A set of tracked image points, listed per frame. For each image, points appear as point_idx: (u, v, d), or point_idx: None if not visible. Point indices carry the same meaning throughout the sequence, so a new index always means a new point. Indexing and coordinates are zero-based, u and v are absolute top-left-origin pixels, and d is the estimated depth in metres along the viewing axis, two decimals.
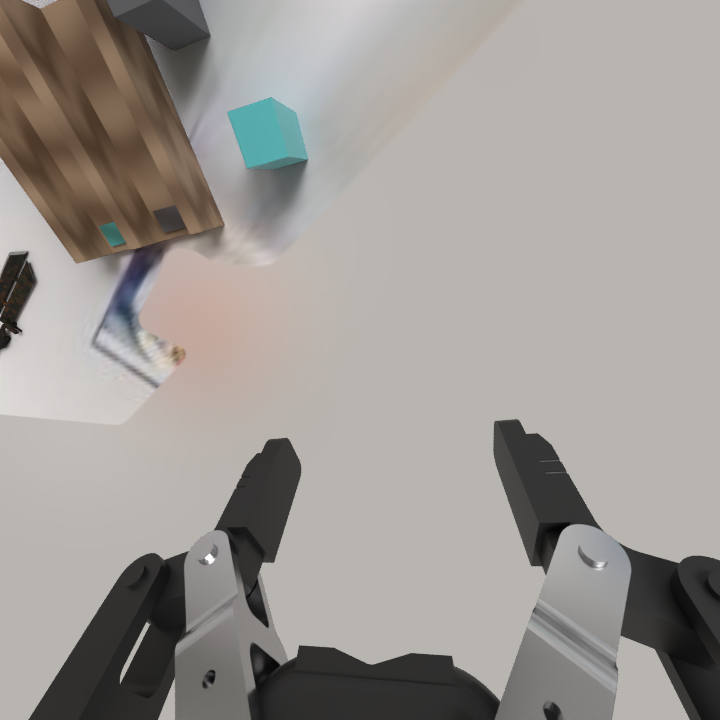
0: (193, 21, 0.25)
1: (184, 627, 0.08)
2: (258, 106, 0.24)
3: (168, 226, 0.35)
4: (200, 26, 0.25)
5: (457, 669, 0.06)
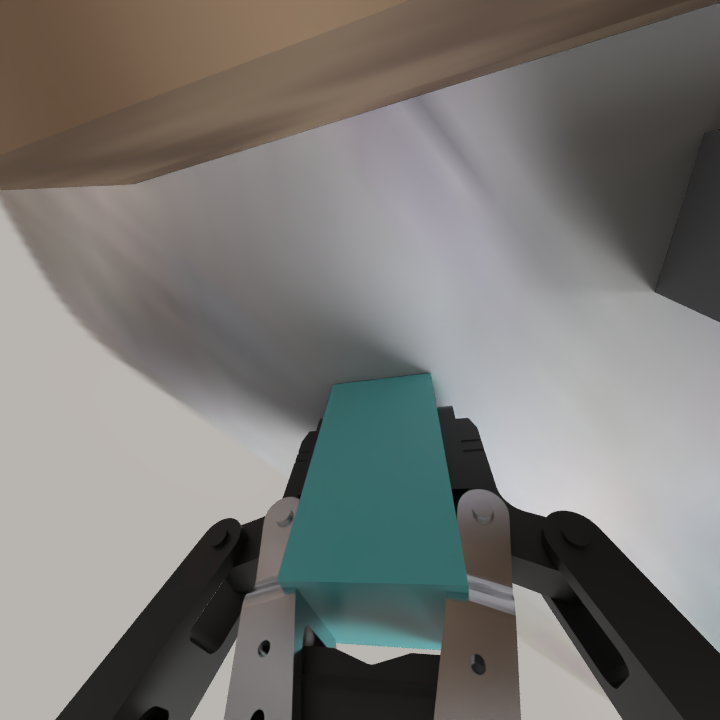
0: None
1: None
2: None
3: None
4: (702, 310, 0.08)
5: None
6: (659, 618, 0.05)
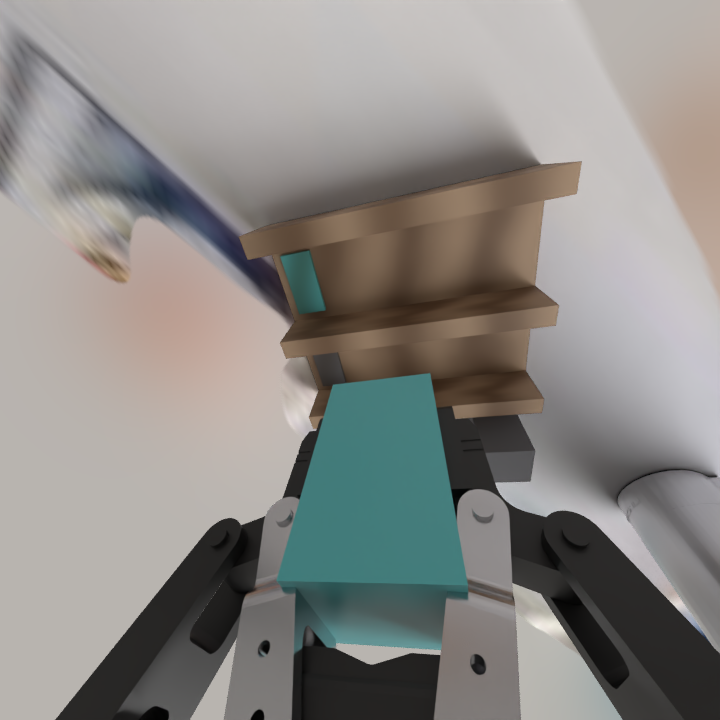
0: None
1: None
2: None
3: None
4: None
5: None
6: (659, 618, 0.05)
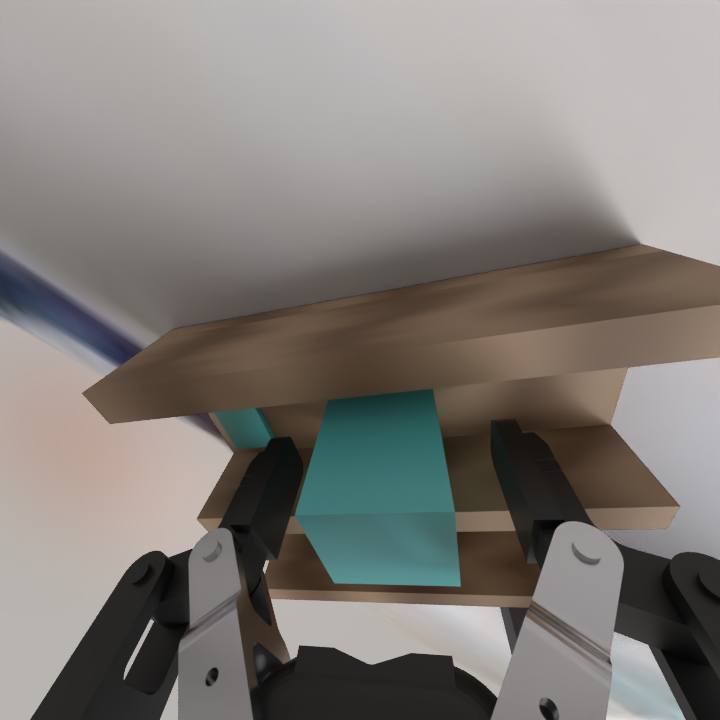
0: None
1: (187, 624, 0.08)
2: (448, 567, 0.08)
3: None
4: None
5: (457, 669, 0.06)
6: None
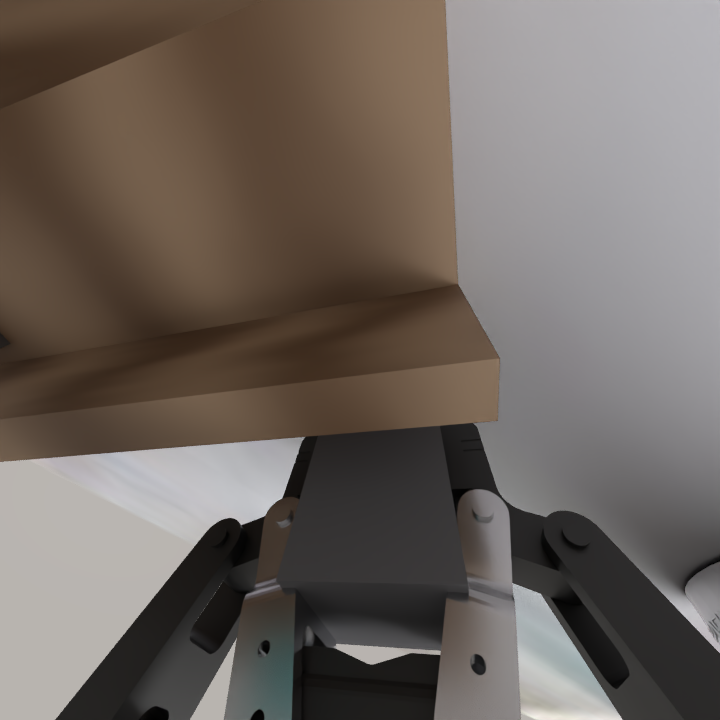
0: None
1: None
2: None
3: None
4: None
5: None
6: (659, 618, 0.05)
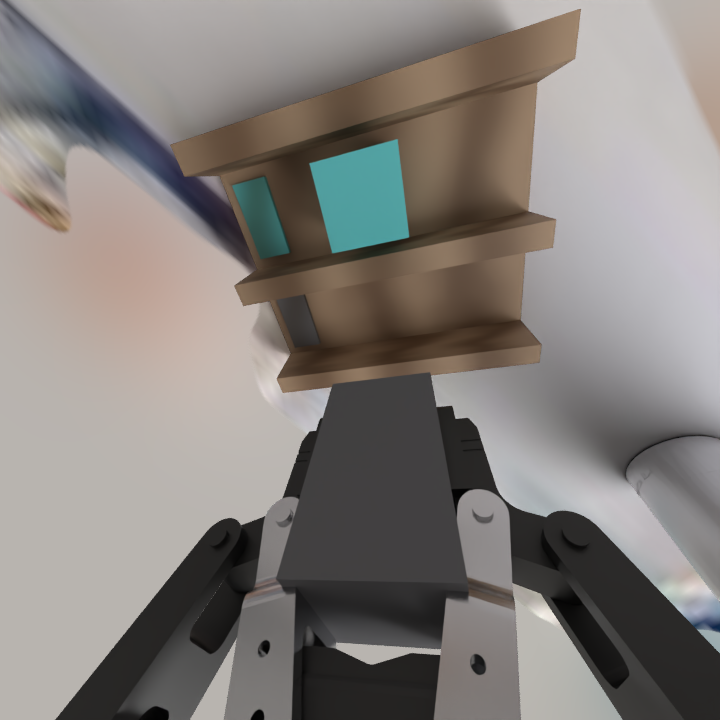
0: None
1: None
2: (399, 211, 0.14)
3: (284, 306, 0.24)
4: None
5: None
6: (659, 618, 0.05)
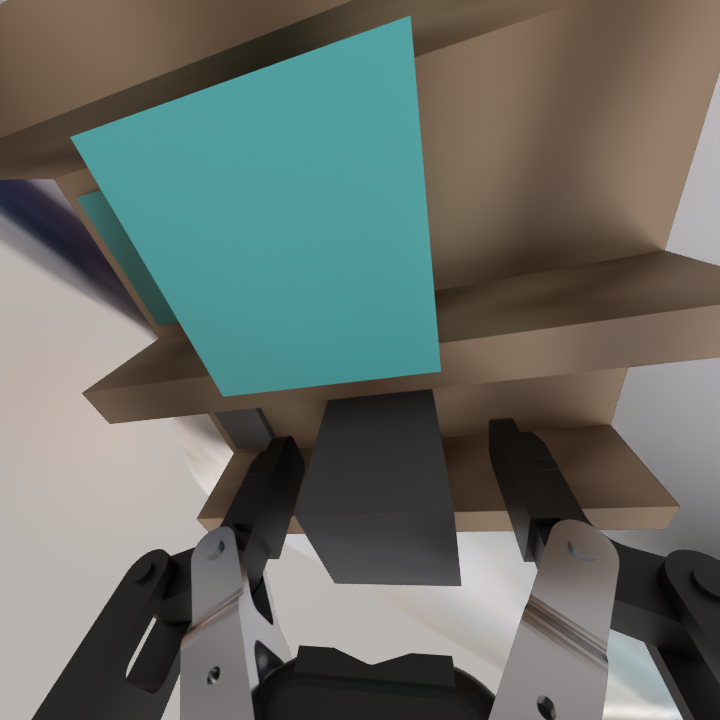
0: None
1: (190, 623, 0.08)
2: (414, 302, 0.04)
3: None
4: None
5: (457, 669, 0.06)
6: None
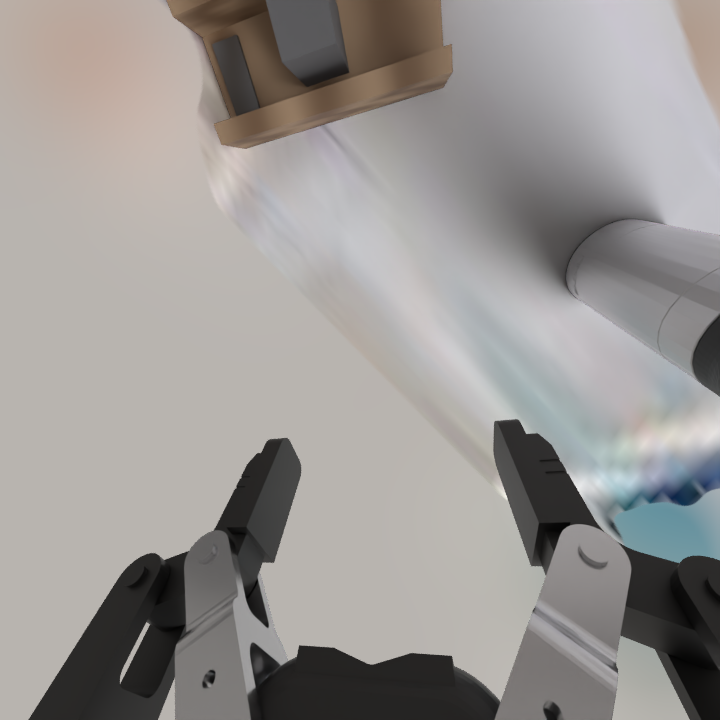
0: (300, 78, 0.24)
1: (184, 627, 0.08)
2: None
3: (222, 58, 0.26)
4: (304, 82, 0.25)
5: (457, 669, 0.06)
6: None
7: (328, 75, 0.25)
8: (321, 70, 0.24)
